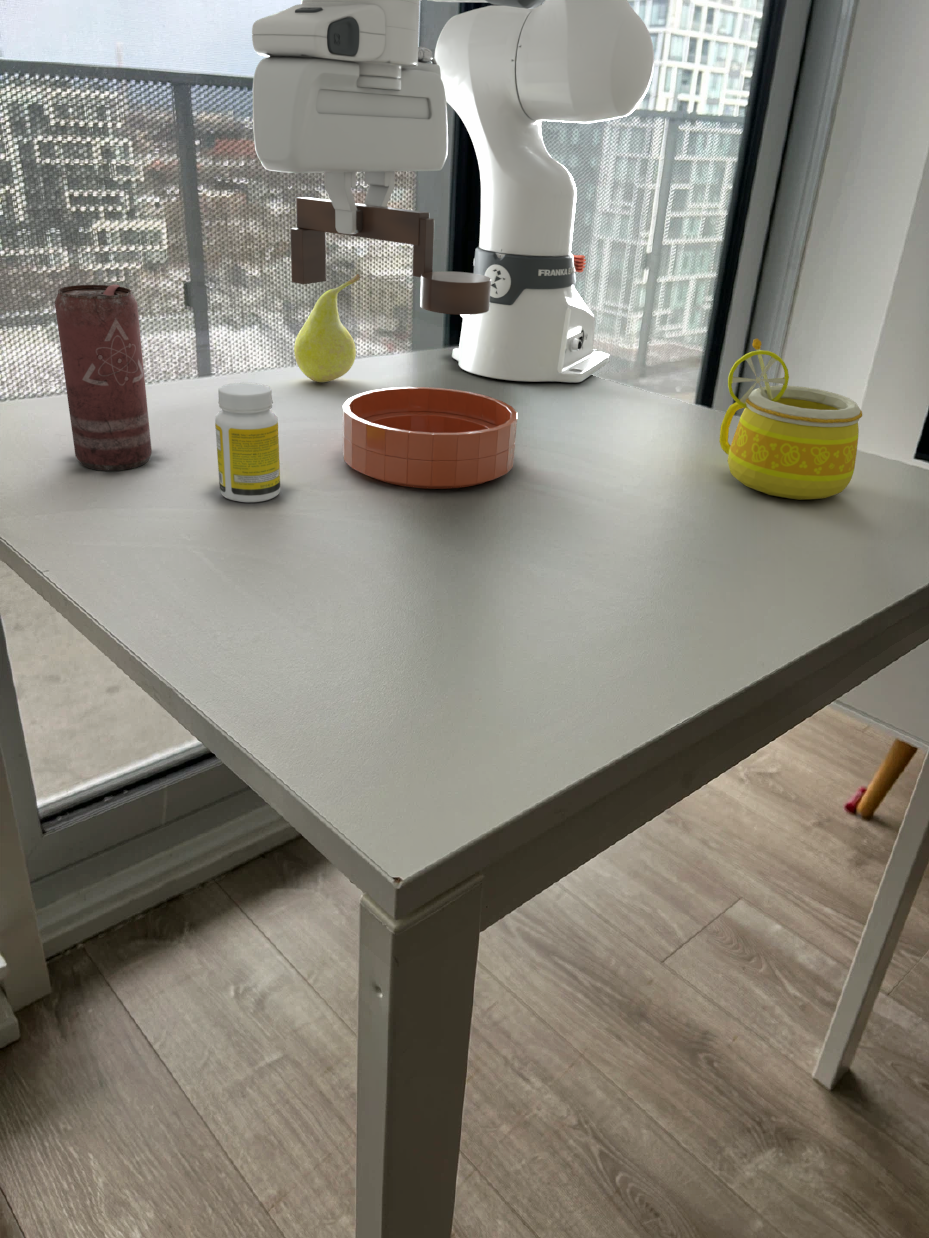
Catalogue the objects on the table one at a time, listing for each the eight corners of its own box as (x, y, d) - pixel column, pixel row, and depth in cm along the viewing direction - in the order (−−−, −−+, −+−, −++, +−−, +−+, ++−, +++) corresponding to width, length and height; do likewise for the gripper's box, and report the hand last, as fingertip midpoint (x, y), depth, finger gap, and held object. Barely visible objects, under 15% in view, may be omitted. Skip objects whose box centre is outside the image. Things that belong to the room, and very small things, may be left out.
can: (164, 451, 83) (149, 285, 77) (134, 475, 77) (116, 297, 71) (97, 445, 83) (77, 279, 77) (63, 468, 78) (38, 291, 71)
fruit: (300, 372, 112) (298, 265, 106) (363, 376, 112) (364, 270, 106) (289, 385, 106) (286, 273, 100) (355, 390, 106) (356, 278, 100)
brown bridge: (502, 309, 77) (508, 219, 73) (464, 318, 72) (469, 222, 69) (324, 278, 86) (323, 196, 82) (281, 284, 81) (278, 198, 78)
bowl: (411, 429, 94) (413, 378, 91) (543, 463, 87) (548, 409, 84) (307, 464, 82) (306, 408, 80) (449, 507, 75) (452, 446, 73)
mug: (868, 490, 85) (905, 356, 80) (811, 516, 78) (846, 371, 73) (744, 453, 93) (770, 329, 87) (682, 474, 86) (705, 340, 81)
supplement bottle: (293, 493, 76) (290, 389, 72) (250, 508, 72) (244, 400, 68) (250, 479, 78) (245, 377, 74) (207, 493, 75) (199, 387, 71)
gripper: (409, 48, 81) (405, 222, 87) (233, 23, 66) (244, 235, 72) (470, 50, 78) (461, 229, 85) (301, 23, 63) (306, 245, 69)
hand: (360, 232), depth 78 cm, fingers closed on brown bridge
